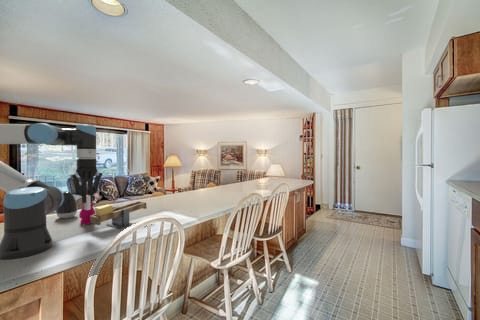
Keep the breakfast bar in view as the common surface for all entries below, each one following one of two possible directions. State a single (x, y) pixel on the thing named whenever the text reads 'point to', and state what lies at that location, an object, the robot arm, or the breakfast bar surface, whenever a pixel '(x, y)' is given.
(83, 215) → the magenta figurine
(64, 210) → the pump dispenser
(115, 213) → the beam
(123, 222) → the fulcrum
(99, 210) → the block
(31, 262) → the breakfast bar surface
